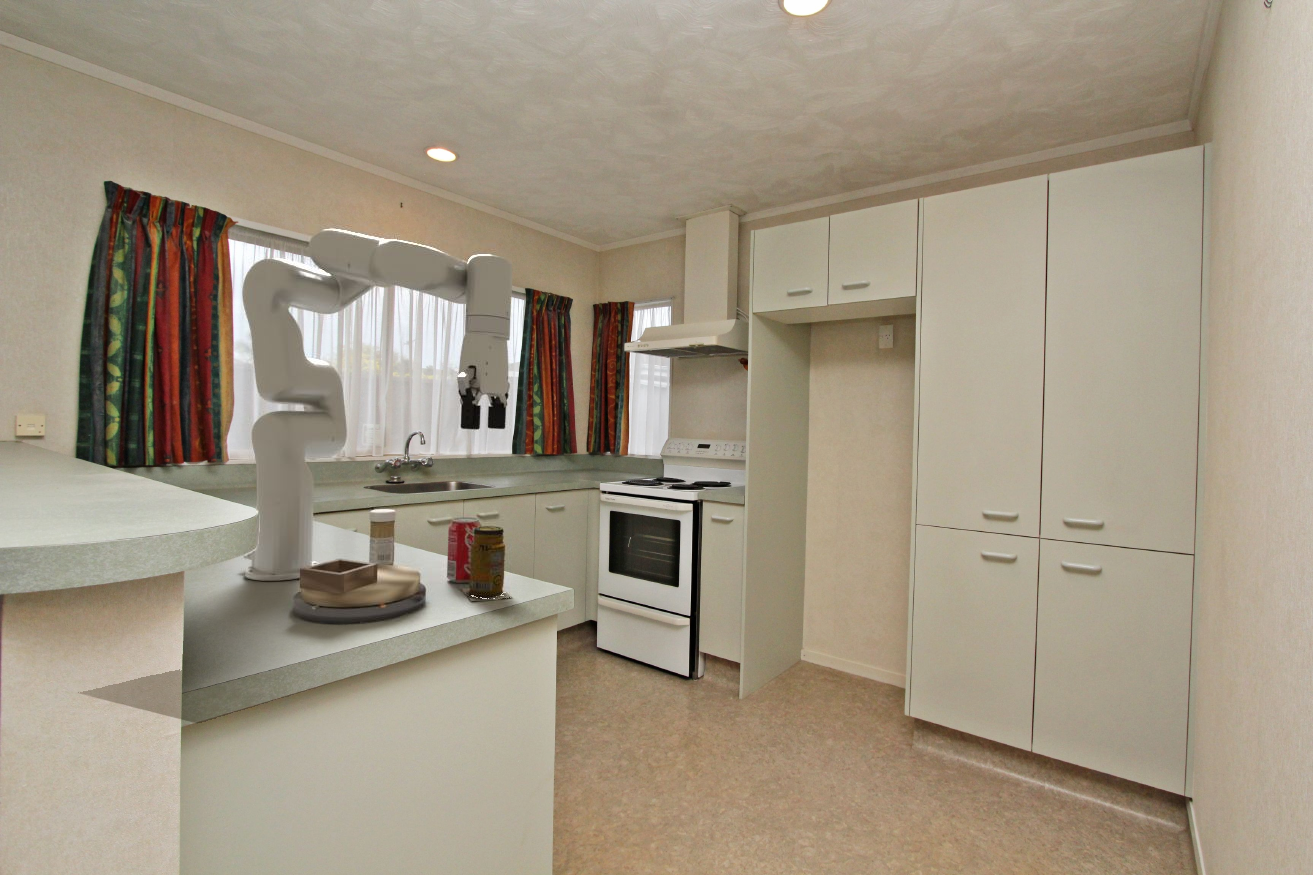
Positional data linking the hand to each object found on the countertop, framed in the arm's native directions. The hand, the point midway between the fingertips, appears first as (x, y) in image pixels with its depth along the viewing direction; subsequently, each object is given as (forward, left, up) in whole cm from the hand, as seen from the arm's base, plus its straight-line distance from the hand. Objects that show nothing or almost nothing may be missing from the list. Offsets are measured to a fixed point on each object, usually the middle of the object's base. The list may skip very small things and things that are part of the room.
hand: (483, 428), depth 106 cm
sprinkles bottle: (-24, +4, -31) cm, 39 cm away
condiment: (-1, +5, -31) cm, 31 cm away
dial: (-16, -9, -28) cm, 34 cm away
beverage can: (-10, +11, -31) cm, 34 cm away
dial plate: (-16, -9, -30) cm, 36 cm away
